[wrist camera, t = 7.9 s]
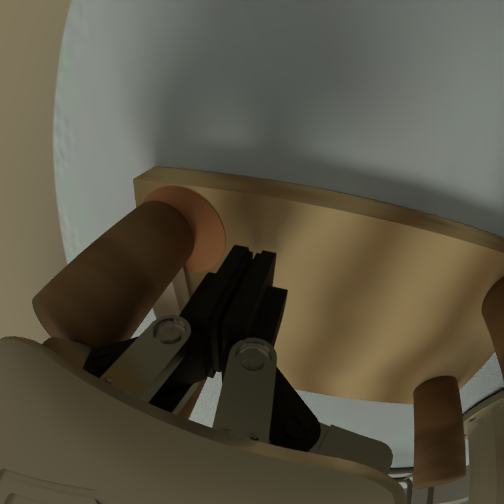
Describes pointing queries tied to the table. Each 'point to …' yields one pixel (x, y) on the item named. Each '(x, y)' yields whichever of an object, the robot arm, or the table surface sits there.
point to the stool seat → (358, 294)
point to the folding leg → (122, 281)
